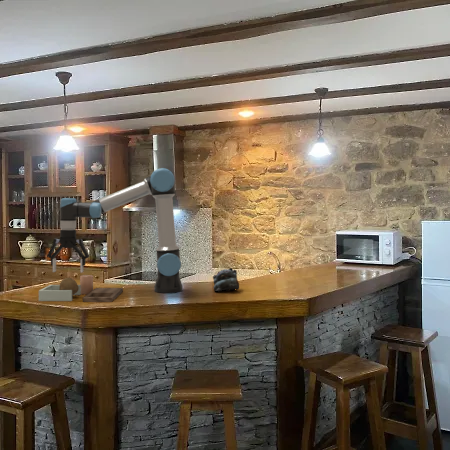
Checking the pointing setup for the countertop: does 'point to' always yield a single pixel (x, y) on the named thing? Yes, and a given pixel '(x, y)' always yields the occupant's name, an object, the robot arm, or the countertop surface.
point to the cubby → (56, 293)
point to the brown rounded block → (86, 284)
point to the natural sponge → (69, 285)
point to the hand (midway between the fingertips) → (68, 272)
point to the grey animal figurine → (226, 280)
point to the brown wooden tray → (103, 295)
